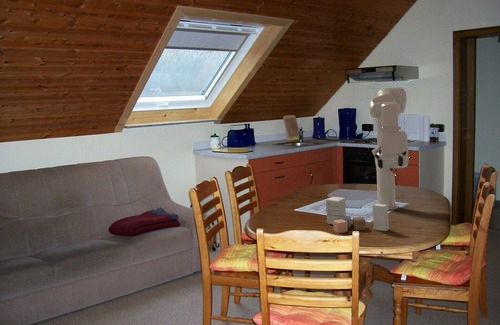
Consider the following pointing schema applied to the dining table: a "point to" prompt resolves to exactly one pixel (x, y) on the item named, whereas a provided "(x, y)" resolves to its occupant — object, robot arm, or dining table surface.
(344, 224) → the terracotta cube
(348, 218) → the slate blue cube
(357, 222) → the walnut cube
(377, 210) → the skincare box
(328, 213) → the supplement box
